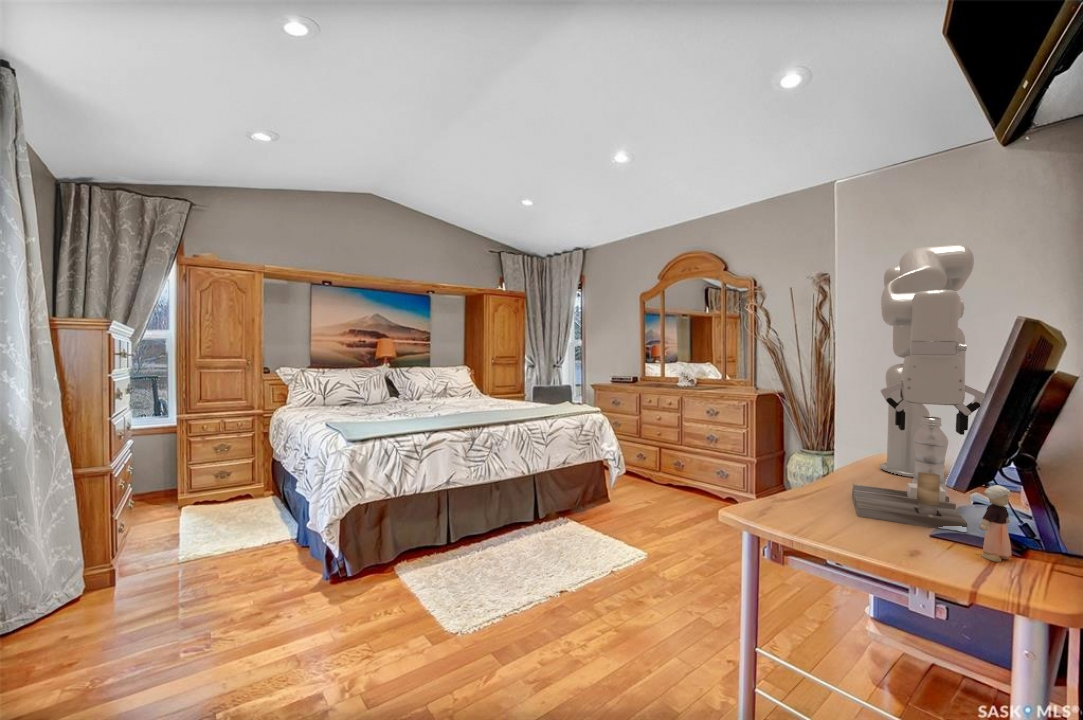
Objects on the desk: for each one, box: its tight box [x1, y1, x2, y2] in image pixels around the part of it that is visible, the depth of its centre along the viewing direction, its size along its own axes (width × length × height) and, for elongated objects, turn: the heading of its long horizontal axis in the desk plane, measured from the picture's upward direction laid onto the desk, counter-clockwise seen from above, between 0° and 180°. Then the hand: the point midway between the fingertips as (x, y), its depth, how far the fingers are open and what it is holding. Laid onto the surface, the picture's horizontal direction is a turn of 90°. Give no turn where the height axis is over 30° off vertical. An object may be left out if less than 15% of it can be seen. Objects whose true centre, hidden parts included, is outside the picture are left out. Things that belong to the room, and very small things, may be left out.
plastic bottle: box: [911, 415, 949, 496], centre depth 112 cm, size 6×7×20 cm
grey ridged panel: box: [851, 483, 968, 529], centre depth 105 cm, size 16×18×3 cm
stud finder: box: [906, 482, 947, 502], centre depth 106 cm, size 4×6×3 cm, turn 60°
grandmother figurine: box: [979, 484, 1013, 563], centre depth 83 cm, size 8×4×13 cm, turn 123°
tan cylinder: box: [917, 472, 940, 516], centre depth 100 cm, size 4×4×10 cm
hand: (930, 431), depth 99 cm, fingers open, 9 cm apart
